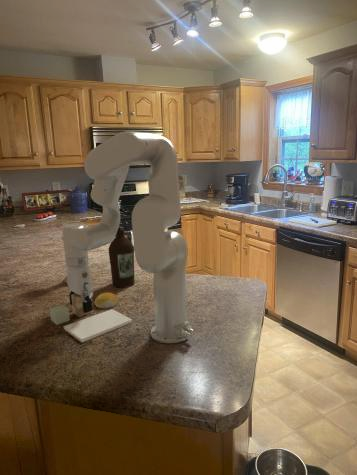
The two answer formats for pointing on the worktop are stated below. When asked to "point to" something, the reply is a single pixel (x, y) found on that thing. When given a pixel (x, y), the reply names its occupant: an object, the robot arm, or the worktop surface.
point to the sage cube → (59, 314)
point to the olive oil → (121, 260)
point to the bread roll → (105, 300)
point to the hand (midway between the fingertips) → (81, 307)
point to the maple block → (78, 305)
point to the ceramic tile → (97, 325)
